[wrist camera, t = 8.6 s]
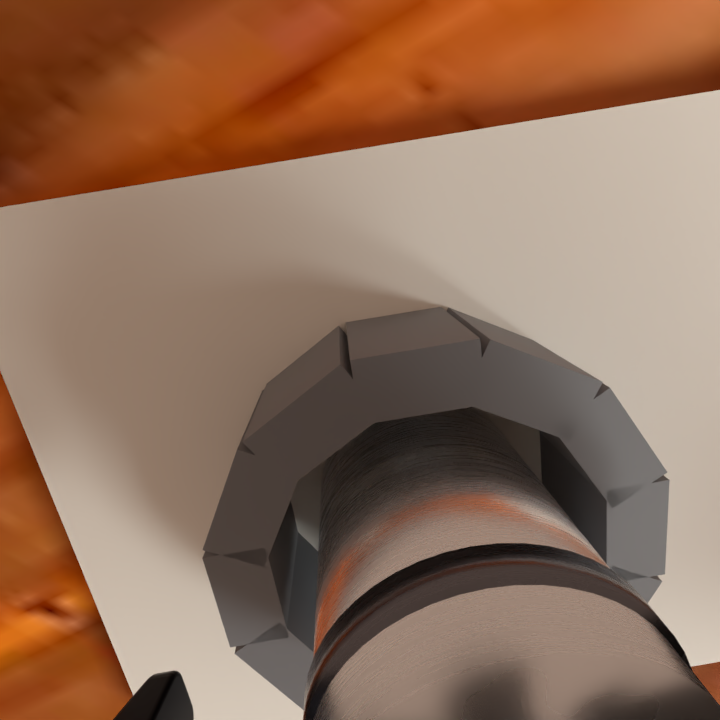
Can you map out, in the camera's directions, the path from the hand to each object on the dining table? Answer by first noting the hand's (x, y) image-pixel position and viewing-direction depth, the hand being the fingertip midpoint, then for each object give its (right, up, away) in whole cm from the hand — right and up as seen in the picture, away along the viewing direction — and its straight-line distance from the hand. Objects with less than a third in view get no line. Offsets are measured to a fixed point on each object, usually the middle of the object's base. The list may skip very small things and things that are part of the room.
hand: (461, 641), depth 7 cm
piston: (0, +1, +4) cm, 5 cm away
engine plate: (+2, +2, +6) cm, 7 cm away
